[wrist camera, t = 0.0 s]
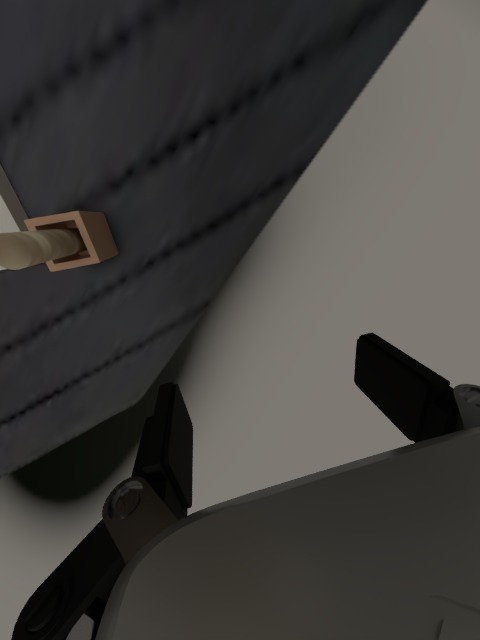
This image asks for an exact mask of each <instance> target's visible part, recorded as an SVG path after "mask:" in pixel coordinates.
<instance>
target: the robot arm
mask: <svg viewBox="0 0 480 640" xmlns="http://www.w3.org/2000/svg"><path fill="white" fill-rule="evenodd" d="M354 381H355V384H356V385H357V386H358V387H359V388H360V390H361V391H362V392H364V394H365V395H366V396H367V397H368V398H369V399H370V400H371V401H372V402H373V403H374V404H375V405H376V406H377V407H378V408H379V409H380V410H381V411H382V412H383V413H384V414H385V415H386V416H387V417H388V418H389V419H390V420H391V422H392V423H393V424H394V425H395V426H396V427H397V428H398V429H399V430H400V431H401V432H402V433H403V434H404V435H405V436H406V437H407V438H408V439H409V440H411V441H414V442H415V443H414V444H410V445H407V446H404V447H400V448H397V449H394V450H390V451H387V452H383V453H380V454H377V455H373V456H370V457H367V458H364V459H360V460H357V461H353V462H350V463H347V464H344V465H340V466H337V467H334V468H330V469H327V470H324V471H320V472H317V473H314V474H310V475H307V476H304V477H301V478H297V479H294V480H291V481H288V482H284V483H281V484H278V485H275V486H271V487H268V488H265V489H262V490H259V491H255V492H252V493H249V494H246V495H243V496H240V497H237V498H234V499H231V500H228V501H225V502H222V503H219V504H215V505H213V506H210V507H208V508H205V509H203V510H200V511H197V512H195V513H192V514H191V515H188V516H187V508H190V507H191V506H192V461H193V460H192V458H193V426H192V422H191V419H190V417H189V414H188V411H187V408H186V405H185V403H184V400H183V397H182V394H181V392H180V389H179V386H178V384H173V382H170V383H166V384H162V385H160V387H159V392H158V396H157V401H156V406H155V410H154V415H153V416H151V417H147V419H146V421H145V424H144V428H143V432H142V436H141V440H140V445H139V448H138V452H137V456H136V460H135V464H134V468H133V472H132V476H131V477H130V478H128V479H125V480H123V481H122V482H121V483H119V484H118V485H117V486H116V487H115V488H114V489H113V490H112V491H111V492H110V494H109V496H108V497H107V499H106V501H105V503H104V506H103V510H102V517H103V519H102V520H101V521H100V522H99V523H98V524H97V525H96V526H95V527H94V529H93V530H92V531H91V532H90V533H89V534H88V535H87V536H86V537H85V538H84V539H83V540H82V541H81V542H80V544H79V545H78V546H77V547H76V548H75V549H74V550H73V551H72V552H71V553H70V554H69V555H68V556H67V558H65V560H64V561H63V562H62V563H61V564H60V565H59V566H58V567H57V568H56V569H55V570H54V571H53V572H52V573H51V574H50V576H49V577H48V578H47V579H46V580H45V581H44V582H43V583H42V584H41V585H40V586H39V587H38V588H37V590H36V591H35V592H34V593H33V595H32V596H31V597H30V598H29V600H28V601H27V603H26V605H25V606H24V608H23V609H22V611H21V613H20V615H19V617H18V619H17V622H16V624H15V627H14V631H13V635H12V639H11V640H480V386H477V385H470V384H461V385H458V386H456V387H455V388H454V389H453V388H452V387H450V386H449V385H450V382H449V381H448V380H446V379H445V378H443V377H442V376H440V375H438V374H437V373H435V372H434V371H432V370H431V369H429V368H427V367H426V366H424V365H423V364H421V363H419V362H418V361H416V360H415V359H413V358H412V357H410V356H409V355H407V354H405V353H404V352H402V351H401V350H399V349H398V348H396V347H394V346H393V345H391V344H390V343H388V342H387V341H385V340H383V339H382V338H380V337H379V336H377V335H376V334H374V333H368V334H364V335H361V336H360V337H359V339H358V340H357V347H356V360H355V375H354Z"/></svg>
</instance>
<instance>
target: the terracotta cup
mask: <svg viewBox="0 0 480 640" xmlns="http://www.w3.org/2000/svg"><path fill="white" fill-rule="evenodd" d="M24 222H25V224H26V226H27V228H28V230H29V231H39V230H53V229H68V228H78V229H79V231H80V234H81V236H82V238H83V241H84V243H85V245H86V247H87V250H86V251H83V252H79V253H76V254H72V255H69V256H65V257H62V258H58V259H54V260H51V261H47V262H46V264H47V266H48V268H49V270H50V271H51V272H53V271H58V270H63V269H69V268H74V267H79V266H84V265H89V264H95V263H100V262H102V261H104V260H107V259H109V258H111V257H113V256H116V255H118V254H119V252H118V249H117V247H116V244H115V242H114V239H113V236H112V234H111V231H110V229H109V226H108V223H107V221H106V218H105V216H104V213H101V212H88V211H74V212H68V213H62V214H56V215H50V216H45V217H39V218H33V219H27V220H24Z"/></svg>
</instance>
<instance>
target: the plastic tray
mask: <svg viewBox="0 0 480 640" xmlns="http://www.w3.org/2000/svg"><path fill="white" fill-rule="evenodd" d="M27 219H29V218H28V216H27V214H26V213H25V211H24V209H23V207H22V205H21V203H20V201H19V199H18V197H17V195H16V193H15V191H14V189H13V187H12V186H11V184H10V182H9V180H8V178H7V176H6V174H5V172H4V170H3V168H2V166H1V164H0V233H10V232H24V231H29V230H28V228H27V226H26V224H25V222H24V220H27ZM5 269H6V268H4V267H1V266H0V270H5Z"/></svg>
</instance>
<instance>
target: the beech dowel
mask: <svg viewBox="0 0 480 640" xmlns="http://www.w3.org/2000/svg"><path fill="white" fill-rule="evenodd" d="M86 250H87V247H86V245H85V243H84V241H83V238H82V236H81V234H80V231H79V229H78V228H68V229H53V230H39V231H24V232H10V233H0V266H1V267H4V268H6V269H10V270H19V269H23V268H26V267H30V266H33V265H37V264H40V263H44V262H47V261H51V260H54V259H58V258H62V257H65V256H69V255H72V254H76V253H79V252H83V251H86Z"/></svg>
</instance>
